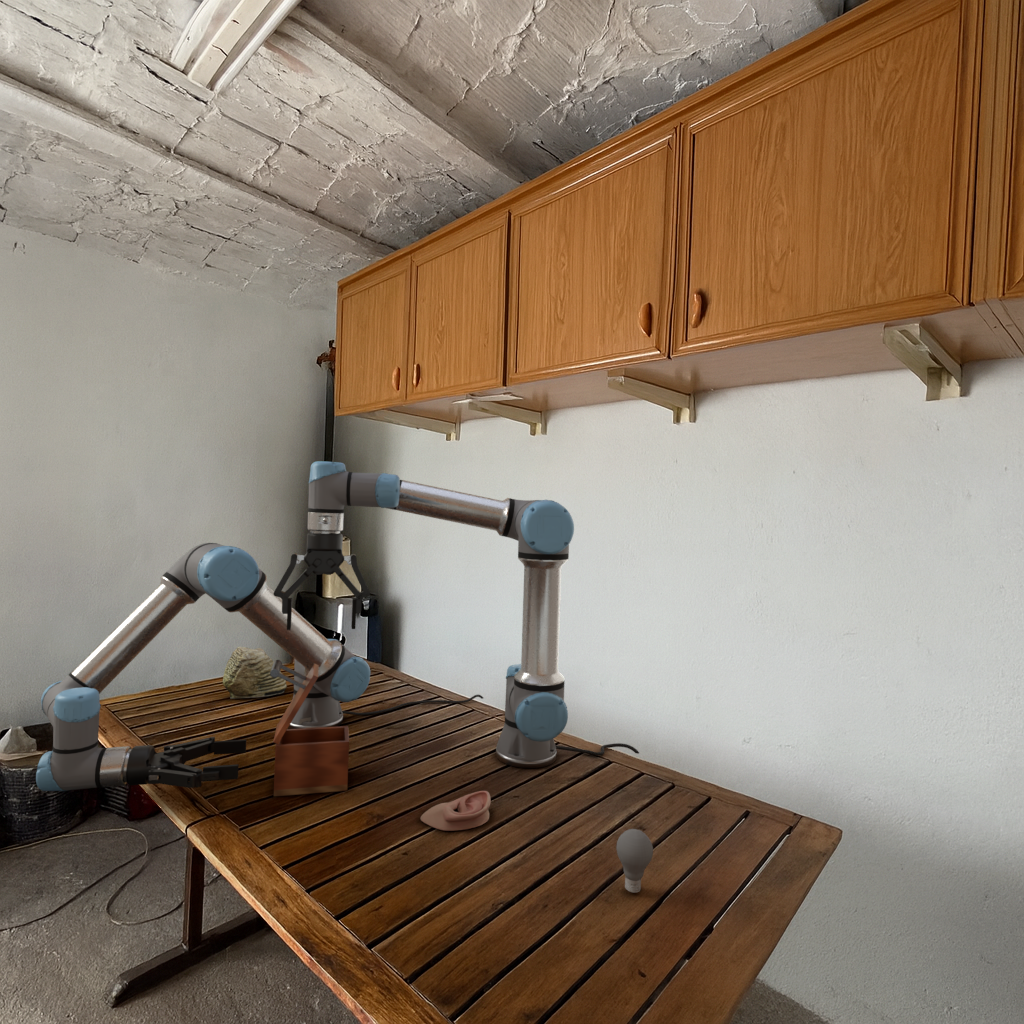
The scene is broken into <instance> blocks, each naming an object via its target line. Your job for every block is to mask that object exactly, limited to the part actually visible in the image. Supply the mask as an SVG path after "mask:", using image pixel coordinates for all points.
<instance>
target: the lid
mask: <svg viewBox="0 0 1024 1024" xmlns="http://www.w3.org/2000/svg"><path fill="white" fill-rule="evenodd" d="M273 661H274V663H273V666H272V669H271V672H270V675H271V677H273V678H276V677H280V678H282V679H284V680H286V682H288V683H290V684H292V685H293V686H294V685H296V686H298V687H300V688H299V690H298V691H297V693H296V695H295V696H294V695H293V696H294V698H293V697H292V699H293V700H292V699H291V702H290V703H289V705H288V707H287V708H286V709H285V711H284V713H283V715H282V716H281V718H280V719H279V721H278V722H277V724H276V728H275V733H274V736H273V743H274V744H276V743H277V744H278V743H279V742H280V740H281V738H282V737H283V735H284V733H285V732H286V730H287V729H289V728H288V727H289V725H290V723H291V722H292V720H293V718H294V717H295V715H296V713H297V712H298V710H299V708H300V707H301V705H302V703H303V702H304V700H305V698H306V697H307V695H308V693H309V692H310V690H311V689H312V687H313V685H314V684H315V682H316V680H317V679H318V670H319V665H317V664H315V663H314V665H313V667H312V668H311V670H310V671H309V673H308V675H307V676H304V675H302V674H300V673H298V672H296V671H294V670H293V669H291V668H289V667H288V666H286V665H284V664H283V662H282V661H281V660H280V659H275V660H273ZM281 670H283V671H285V672H287V673H289V674H292V675H293V676H294V675H295V676H297V677H299V678H301V679H303V680H304V681H303V683H302V684H301V683H299V682H297V681H295V680H294V678H291V677H289V676H287V675H285V674H283V673H282V672H281ZM280 672H281V673H282V674H281V673H280Z"/></svg>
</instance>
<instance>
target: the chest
mask: <svg viewBox="0 0 1024 1024" xmlns="http://www.w3.org/2000/svg"><path fill="white" fill-rule="evenodd" d="M274 749H275V750H274V770H273V771H274V774H273V775H274V776H273V795H272V796H273V797H284V796H295V795H297V796H298V795H309V794H320V793H321V794H322V793H333V792H345V791H348V788H349V787H348V786H349V784H348V783H349V760H350V759H349V758H350V733H349V726H348V725H341V726H340V725H339V726H337V727H319V728H301V729H289V728H287V730H286V732H285V733H284V735H283V737H282V738H281V740H280V742H279V743H278V744H277V743H275V748H274Z"/></svg>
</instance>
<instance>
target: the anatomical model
mask: <svg viewBox="0 0 1024 1024" xmlns="http://www.w3.org/2000/svg"><path fill="white" fill-rule="evenodd" d="M491 799H492V798H491V793H490V792H489V791H488V790H478V791H475V792H472V793H468V794H465V795H463V796H461V797H459V798H457V799H455V800H451V801H449V802H441V803H438V804H436V805H434V806H432V807H430V808H429V809H427V810H426V811H425V812H424V813H423V814H421V816H420V817H419V818H420V821H421V822H423V823H424V824H426V825H428V826H429V827H431V828H434V829H437V830H440V831H443V832H445V831H446V832H449V831H450V832H452V831H464V830H469V829H474V828H477V827H480V826H482V825H485V824H486V823H487V822H488V821H489V820H490V810H489V809H490V807H491V803H492V801H491Z"/></svg>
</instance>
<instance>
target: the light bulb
mask: <svg viewBox="0 0 1024 1024" xmlns="http://www.w3.org/2000/svg"><path fill="white" fill-rule="evenodd" d="M615 849H616V854H617V857H618V859H619V861H620V863H621V865H622V867H623V873H624V874H623V875H624V876H625V878H624V888H625V890H627V891H628V892H630V893H634V894H635V893H639V892H640V891H641V889H642V887H641V886H642V879H643V877H644V875H645V871H646V868H647V867H648V866H649V864H650V863H651V861H652V859H653V855H654V847H653V843H652V841H651V838H649V836H648V835H647V834H646V833H645V832H643V831H642V830H641V829H636V828H629V829H627V830H625V831H623V832H622V833H621V834H620V835H619V837H618V839H617V841H616V847H615Z"/></svg>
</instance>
